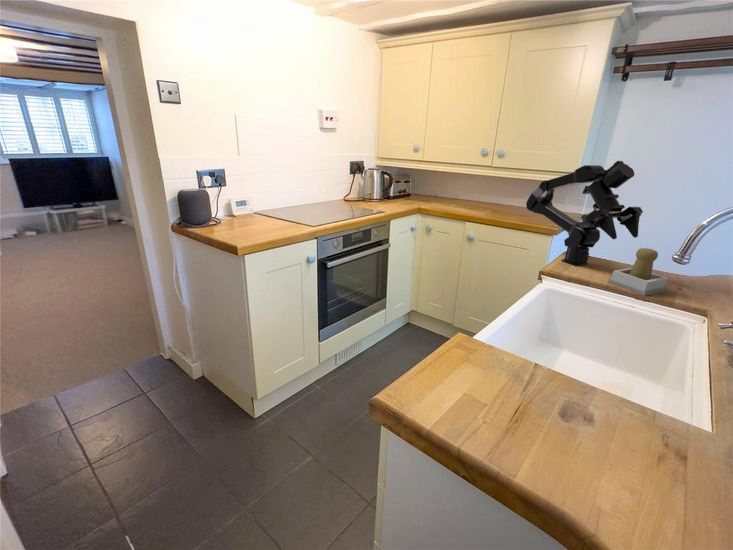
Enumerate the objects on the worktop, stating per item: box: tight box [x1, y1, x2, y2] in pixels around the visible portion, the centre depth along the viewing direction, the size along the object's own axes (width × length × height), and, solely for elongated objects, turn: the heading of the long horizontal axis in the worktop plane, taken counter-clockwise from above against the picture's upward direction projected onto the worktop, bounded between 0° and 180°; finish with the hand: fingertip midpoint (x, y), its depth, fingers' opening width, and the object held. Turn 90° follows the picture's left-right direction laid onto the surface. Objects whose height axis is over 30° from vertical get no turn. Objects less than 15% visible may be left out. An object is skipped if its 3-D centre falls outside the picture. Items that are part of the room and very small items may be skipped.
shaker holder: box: [607, 267, 669, 296], centre depth 110 cm, size 11×11×4 cm
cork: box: [629, 247, 659, 280], centre depth 108 cm, size 6×6×11 cm
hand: (625, 238), depth 112 cm, fingers open, 9 cm apart
